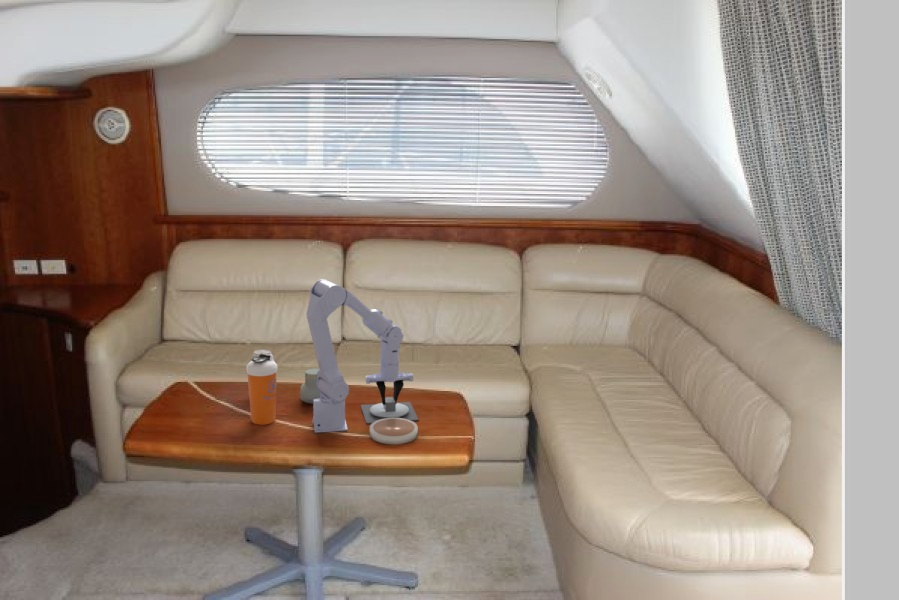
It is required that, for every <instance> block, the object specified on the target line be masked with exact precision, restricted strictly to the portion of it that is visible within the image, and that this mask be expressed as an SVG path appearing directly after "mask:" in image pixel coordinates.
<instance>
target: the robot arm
mask: <svg viewBox="0 0 899 600" xmlns="http://www.w3.org/2000/svg"><path fill="white" fill-rule="evenodd" d="M309 296H310V298H309V302H308V305H307V310H306V319H307V323H308V327H309V331H310V335H311V340H312V345H313V348H314V352H315V356H316V361H317V365H318V369H319V371H318V372H317V383H316V385H317V388H318V390H319V391H320V398H318V399H314V400H313V404H312V405H313V406H312V409H313V410H312V416H313V417H312V424H313V428H314V429H313V430H314V433H329V432H346V431H348V425H347V421H346V398H347V397H348V395H349V392H350V387H349V384H348V383H347V382H346V381H345V378H344V375H343V374H342V372H341V371H340V368H339V367H338V362H337V358H336V357H337V356H336V353H335V348H334V344H333V340H332V337H331V330H330V328H329V323H328V318H329V316H330V315H331V314H333V313H334V312H335V311H336V310H337V309H339V308H340V307H341V306H343V307H348V308H349V309H351V310H352V311H353V312H354V313H356V314H357V315H359V316H360V317H361V318H362V323H363V325H364V326H365V327H366V328H367V329H368V330H370V331H371V332H372V333H374V334H375V335H376V336H377V338H378V339H380V364H379V365H380V368H379V370H380V371H379V373H375V374H370V375H365V383H366V384H367V385H368V384H371V383H376V387H377V388H378V390H379V393H380V398H381V403H382V404H383V405H385V397H386V387H387V386H386V382H388V383H393V395H392V397H393V398H394V400H395V402H396V404H397V403H398V398H399V395H400V393H401V391H402V390H403V388H404V385H405V384H404V382H407V381H408V382H414V374H413V373H412V372H411V373H407V372H400V347H401V342H402V341H403V339H404V334H403V331H402V329H401V328H400V326H397V325H395V324H394V323H393V320H391V319H388V317H386V316H385V315H383V314H384V312H383V311H382V310H380V309H376V308H372V309H370V308H369V307H368V306H366V305H365V304H364V303H363V302H362V301H361V300H360V299H359V298H358V297H357V296H355V294H354V293H352V292H351V291H349V290H347V289H345V288H344V287H343V286H342V285H339V284H336V283H334V282H332V281H330V280H328V279H325V278H321V279H318V280H317V281H316V282H315V283H314V284H313V286H312V287H311V288H310V289H309Z"/></svg>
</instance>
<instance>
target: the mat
mask: <svg viewBox="0 0 899 600" xmlns="http://www.w3.org/2000/svg"><path fill="white" fill-rule="evenodd" d="M399 403H400V404H404V405H406V406H407V407H408V408H409V412H408V413H407V414H406V415H403V416H400V417H394V418H403V419H408V420H410V421H413V422H417V421H420V420H419V417H418V416H417V413H416V411H415V409H414V407H413V405H412V403H411V401H404V402H399ZM376 404H377V403H371V404H360V408H361V412H362V415H363V418H364V421H365V423H366V425H371V424H372V423H373V422H375V421H377V420H380V419H384V417H378V416H375V415H373V414H371V412H370V408H371V407H372V406H373V405H376Z"/></svg>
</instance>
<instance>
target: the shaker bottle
mask: <svg viewBox="0 0 899 600" xmlns="http://www.w3.org/2000/svg"><path fill="white" fill-rule="evenodd" d="M245 370H246V375H247V385H248V386H247V387H248V398H249V408H250V409H249V411H250V421H251V423H253V424H254V425H258V424H259V426H261V425H263V426H264V425H270V424H272V423H275V421H276V414H277V413H276V411H277V410H276V408H277V407H276V406H277V372H278V364H277V362H275V359H274V355H273V354H272V355H267V354H259V356H258V357H255V358H253V357H252V358H251V360H250V361H249V362H248V363H247V365H246V368H245Z"/></svg>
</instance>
